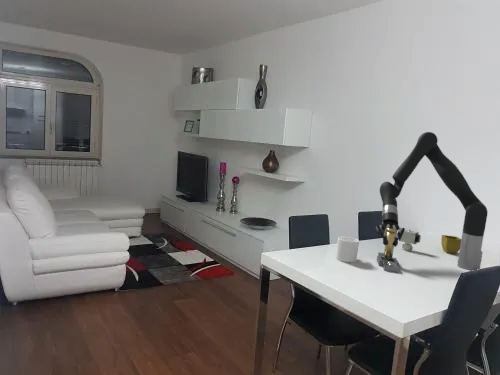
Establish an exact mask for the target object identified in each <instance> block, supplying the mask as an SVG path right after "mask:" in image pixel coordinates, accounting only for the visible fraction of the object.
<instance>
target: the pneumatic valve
mask: <svg viewBox="0 0 500 375" xmlns="http://www.w3.org/2000/svg"><path fill="white" fill-rule="evenodd" d="M397 235H398V236H400V232H399V230H398V231H397ZM421 237H422V236H421V234H420V233H419V232H418V231H413V230H411V229H405V230H404V233H403V235H402V238H401V240H398V242H403V243H402V245H401V248H402V250H403V251H406V252H410V251H412V250H413V248H414V246H413V245H416V244H419V243H420V242H421V239H422V238H421Z"/></svg>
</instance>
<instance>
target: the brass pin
mask: <svg viewBox="0 0 500 375" xmlns="http://www.w3.org/2000/svg"><path fill="white" fill-rule="evenodd" d="M396 232H397V233H398V231H397V229H394V228H387V235H386V237H387V244H386V245H384V252H383V253H384V257H385V258H392V257H393V255H394V250H395V249H394V248H395V247H394V243H395V236H396Z"/></svg>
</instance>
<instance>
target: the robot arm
mask: <svg viewBox="0 0 500 375" xmlns="http://www.w3.org/2000/svg"><path fill="white" fill-rule="evenodd" d="M438 140H439V139H438V137H437V135H436V134H435V133H434V132H431V131H426V132H424V133H422V134H420V136H418V138H417V142H416V144H415V146H414V147H413V149H412V151H411V152H410V153H409V155H408V156H407V157H406V158H405V159H404V160H403V162H402V163H401V164H400V166H399V167H398V168H397V169H396V170H395V172H394V173H393V175H392V176H391V177H392V179H393V181H394V184H393V183H391V182H390V181H384V182H382V183H381V185H380V187H379V194H380V198H381V201H382V210H381V218H382V219H381V224H376V226H375V229H376V232H377V234H378V237H379V238H382V244H383V245H384V246H385V245H386V244H387V237H386V236H387V228H394V229H397V232H396V236H395V243H394V248H396V247H397V246H398V245H399V240H401V238H402V235H403V233H404V230H406V228H405V227H400V225H399V211H398V201H397V198H398V197H399V196H400V194H401V192H402V190H403V188H404V184H405V183H406V181H407V180H408V179H409V178H410V176H411V175H412V174H413V172H414V170H416V168H417V167H418V165H419V163H420V162H421V161H422V160H423V158H424V157H426V158H427V159H428V160H429V161H430V163H431V165H432V166H433V168H434V170H435V172H436V173H437V174H438V176H439V178H440V179H441V181H442V182H443V183H444V185H445V187H447V188H448V190H449V191H450V192H451V193H452V194H453V195H454V196H455V197H456V198H457V199H458V200H459V202H460V203H461V205H462V207H463V208H464V209H463V210H465V213H464V222H463V225H462V226H463V227H462V233H461V238H460V239H461V245H460V250H459V251H458V253H459V254H458V258H457V267H459V268H461V269H465V270H468V271H476V270H475V269H480V270H481V265H482V259H483V251H482V247H483V242H484V235H485V230H486V225H487V219H488V209H487V206H486V205H485V204H484V203H483V202H482V201H481V200H480V199H479V198H478V196H476V194H475V193H474V192H473V190H472V188H471V187H470V185H469V183H468V181H467V180H466V178H465V177H464V175H463V173H462V172H461V171H460V169H459V167H457V166H456V164H455V163H454V162H453V161H452V160H450V159H449V158H448V156H446V155H445V153H443V151H442V150H441V148H440V147H439V145H438ZM382 230H383V231H384V233H383V231H382ZM398 231H399V232H400V236H398V235H397V233H398Z"/></svg>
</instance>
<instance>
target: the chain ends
mask: <svg viewBox="0 0 500 375" xmlns="http://www.w3.org/2000/svg"><path fill="white" fill-rule="evenodd" d="M376 263H377V264H378V266H379V267H381V268H382V269H383V271H386V272H391V273H392V272H393V273H399V268H400V262H399V261H398V259H397V258H396V257H393V256H392V258H385V257H384V252H378V253H377V256H376Z"/></svg>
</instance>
